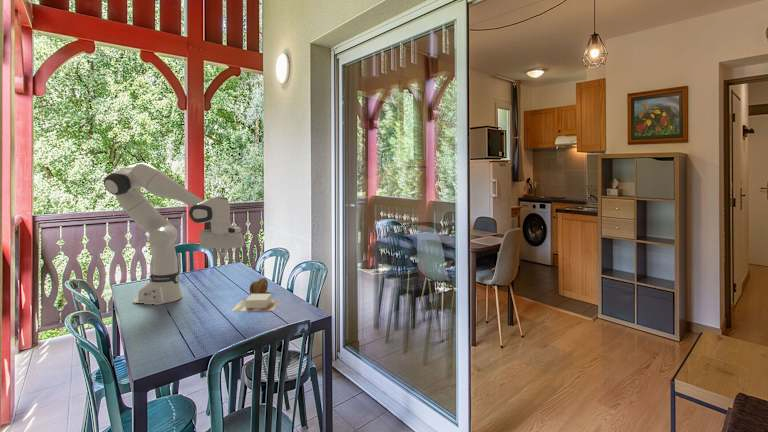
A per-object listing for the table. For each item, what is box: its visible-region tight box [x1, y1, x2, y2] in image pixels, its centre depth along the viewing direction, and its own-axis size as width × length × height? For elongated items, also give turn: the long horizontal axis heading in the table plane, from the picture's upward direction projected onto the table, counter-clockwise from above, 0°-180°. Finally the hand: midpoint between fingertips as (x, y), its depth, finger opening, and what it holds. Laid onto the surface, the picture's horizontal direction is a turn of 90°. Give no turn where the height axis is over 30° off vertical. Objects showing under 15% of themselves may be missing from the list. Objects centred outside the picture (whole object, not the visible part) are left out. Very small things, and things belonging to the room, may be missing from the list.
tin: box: [249, 277, 269, 296], centre depth 205 cm, size 15×3×8 cm, turn 168°
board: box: [230, 299, 281, 312], centre depth 187 cm, size 20×15×1 cm
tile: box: [244, 293, 273, 308], centre depth 188 cm, size 4×10×10 cm
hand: (222, 257), depth 184 cm, fingers closed
